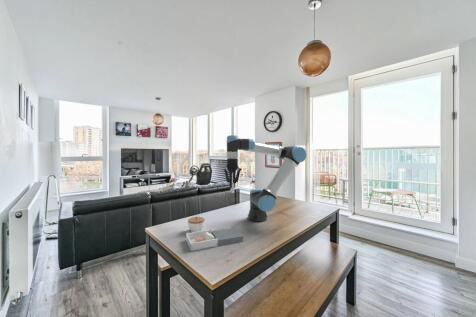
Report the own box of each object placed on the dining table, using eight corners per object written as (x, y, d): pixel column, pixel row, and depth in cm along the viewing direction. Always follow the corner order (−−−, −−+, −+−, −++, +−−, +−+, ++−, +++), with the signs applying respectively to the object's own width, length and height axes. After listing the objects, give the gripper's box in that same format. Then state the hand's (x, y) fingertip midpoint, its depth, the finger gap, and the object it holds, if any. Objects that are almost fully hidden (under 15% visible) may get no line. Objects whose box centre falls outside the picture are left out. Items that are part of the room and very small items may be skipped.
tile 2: (210, 238, 119) (212, 234, 120) (212, 242, 114) (214, 238, 115) (203, 235, 117) (205, 231, 118) (205, 238, 113) (207, 234, 113)
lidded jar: (207, 229, 134) (207, 215, 134) (196, 235, 125) (196, 220, 125) (195, 226, 140) (195, 213, 139) (184, 232, 130) (184, 217, 130)
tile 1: (195, 236, 116) (195, 241, 116) (196, 240, 111) (196, 244, 111) (203, 235, 118) (203, 239, 118) (205, 238, 113) (205, 243, 113)
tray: (210, 235, 124) (210, 229, 124) (217, 246, 110) (217, 239, 110) (186, 239, 118) (186, 233, 118) (190, 251, 105) (190, 243, 104)
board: (233, 232, 130) (233, 227, 130) (242, 241, 117) (242, 236, 117) (211, 236, 124) (211, 231, 124) (218, 245, 111) (218, 240, 111)
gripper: (238, 158, 142) (239, 190, 143) (221, 158, 137) (221, 192, 138) (243, 158, 135) (243, 192, 136) (225, 158, 130) (225, 194, 131)
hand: (232, 192), depth 137 cm, fingers closed
